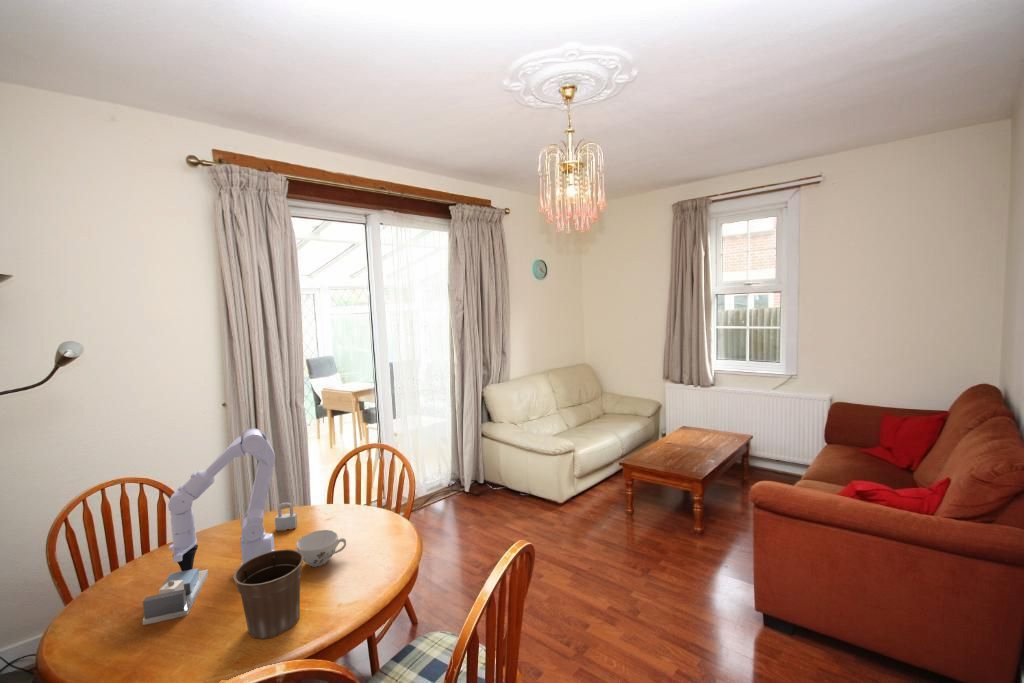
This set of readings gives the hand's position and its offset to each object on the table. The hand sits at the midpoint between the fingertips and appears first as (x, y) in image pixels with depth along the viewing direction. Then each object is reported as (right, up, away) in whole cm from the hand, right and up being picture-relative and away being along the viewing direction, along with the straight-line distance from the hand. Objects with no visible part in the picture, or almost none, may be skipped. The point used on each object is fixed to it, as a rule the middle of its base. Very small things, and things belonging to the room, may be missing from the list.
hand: (187, 572), depth 140 cm
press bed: (+3, -4, -7) cm, 8 cm away
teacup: (+38, -2, +9) cm, 39 cm away
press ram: (+2, -2, -5) cm, 6 cm away
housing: (+4, -2, -12) cm, 13 cm away
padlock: (+14, 0, +34) cm, 36 cm away
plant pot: (+37, -4, -20) cm, 42 cm away
